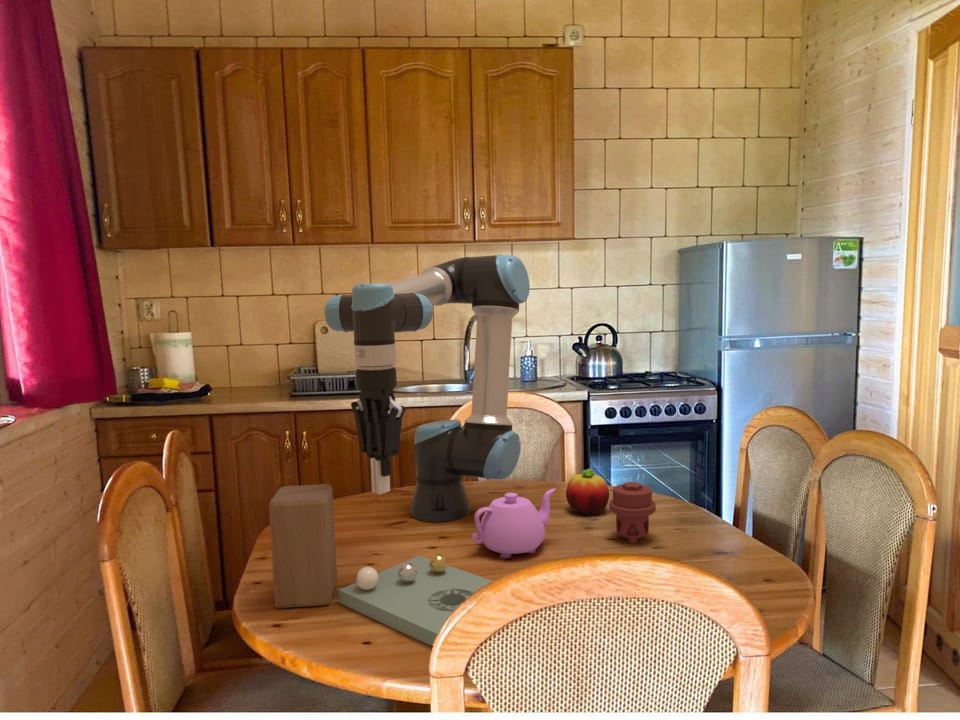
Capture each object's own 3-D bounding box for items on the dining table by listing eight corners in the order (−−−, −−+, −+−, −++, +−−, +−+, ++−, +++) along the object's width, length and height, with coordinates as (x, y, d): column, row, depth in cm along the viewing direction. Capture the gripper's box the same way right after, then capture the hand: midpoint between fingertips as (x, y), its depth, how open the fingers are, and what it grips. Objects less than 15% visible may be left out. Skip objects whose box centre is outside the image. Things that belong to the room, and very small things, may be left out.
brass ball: (425, 573, 128) (424, 555, 127) (438, 567, 130) (437, 549, 130) (438, 577, 125) (437, 559, 125) (451, 571, 128) (450, 554, 128)
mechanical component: (654, 531, 153) (657, 548, 143) (609, 529, 155) (609, 545, 145) (654, 478, 152) (656, 491, 142) (609, 477, 154) (608, 490, 144)
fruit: (561, 515, 165) (560, 476, 164) (572, 502, 175) (571, 465, 174) (604, 520, 161) (603, 479, 160) (613, 506, 171) (613, 468, 170)
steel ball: (394, 582, 124) (393, 564, 123) (408, 576, 126) (407, 558, 126) (407, 587, 121) (406, 569, 121) (421, 581, 124) (420, 562, 124)
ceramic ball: (352, 589, 121) (351, 568, 121) (369, 582, 124) (368, 561, 124) (366, 596, 119) (365, 574, 118) (383, 588, 122) (382, 566, 121)
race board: (339, 603, 122) (338, 589, 121) (419, 567, 137) (419, 555, 136) (440, 650, 104) (440, 635, 104) (520, 604, 119) (520, 590, 119)
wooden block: (285, 586, 129) (279, 485, 127) (338, 583, 130) (332, 482, 128) (274, 610, 120) (267, 501, 118) (331, 607, 120) (325, 498, 118)
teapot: (542, 530, 156) (541, 479, 154) (573, 551, 143) (572, 495, 141) (461, 544, 148) (459, 491, 147) (485, 568, 135) (484, 509, 134)
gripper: (336, 367, 126) (342, 490, 128) (384, 371, 117) (389, 503, 119) (368, 363, 132) (373, 481, 134) (415, 367, 123) (420, 493, 125)
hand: (381, 491), depth 127 cm, fingers closed
